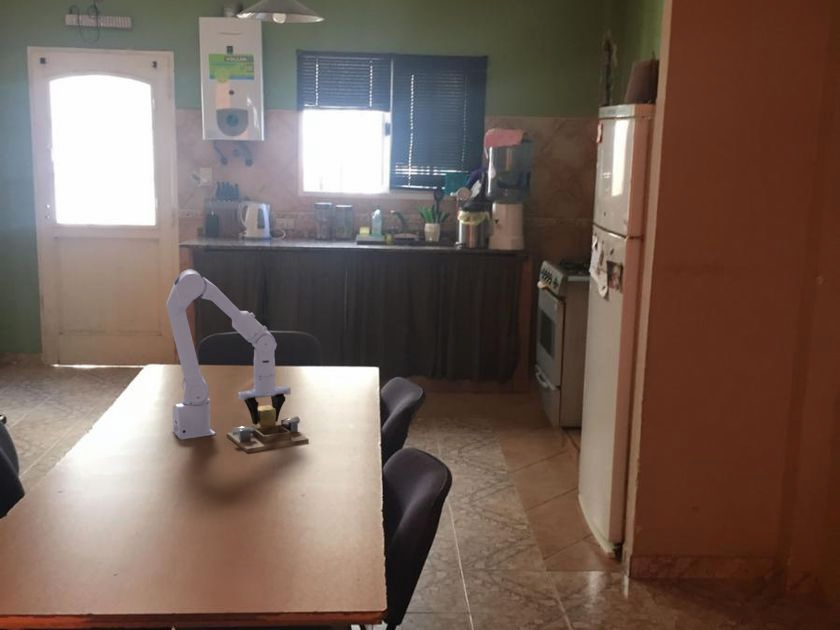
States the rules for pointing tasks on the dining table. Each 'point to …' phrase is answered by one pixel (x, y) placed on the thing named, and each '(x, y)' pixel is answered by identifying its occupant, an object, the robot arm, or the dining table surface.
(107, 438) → the dining table surface
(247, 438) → the shaft left
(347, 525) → the dining table surface
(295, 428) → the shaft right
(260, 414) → the block
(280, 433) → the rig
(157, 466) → the dining table surface
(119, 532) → the dining table surface
